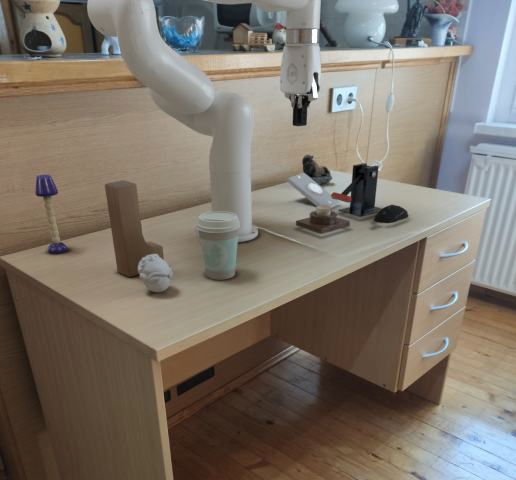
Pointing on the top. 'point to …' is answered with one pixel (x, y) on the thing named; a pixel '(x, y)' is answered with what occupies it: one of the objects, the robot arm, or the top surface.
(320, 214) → the button
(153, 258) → the frog figurine
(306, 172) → the bison figurine
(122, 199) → the wooden block
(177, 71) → the robot arm
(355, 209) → the bracket
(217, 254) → the coffee cup
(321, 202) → the light switch
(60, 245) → the toy lamp
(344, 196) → the lever
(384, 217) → the gaming mouse
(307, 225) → the button block
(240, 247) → the top surface
